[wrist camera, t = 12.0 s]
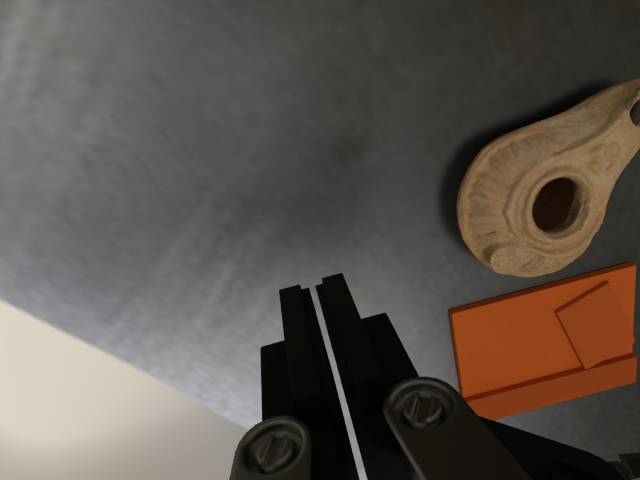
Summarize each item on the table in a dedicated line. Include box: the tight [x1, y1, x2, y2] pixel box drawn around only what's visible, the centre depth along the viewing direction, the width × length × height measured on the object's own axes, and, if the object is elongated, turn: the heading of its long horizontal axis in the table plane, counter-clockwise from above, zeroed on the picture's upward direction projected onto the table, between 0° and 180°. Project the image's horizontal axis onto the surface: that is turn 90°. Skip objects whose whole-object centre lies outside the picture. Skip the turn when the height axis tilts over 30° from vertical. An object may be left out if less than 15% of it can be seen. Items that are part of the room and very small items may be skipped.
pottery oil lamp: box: [456, 78, 640, 277], centre depth 24 cm, size 9×12×7 cm
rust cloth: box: [449, 262, 637, 420], centre depth 32 cm, size 13×10×1 cm
